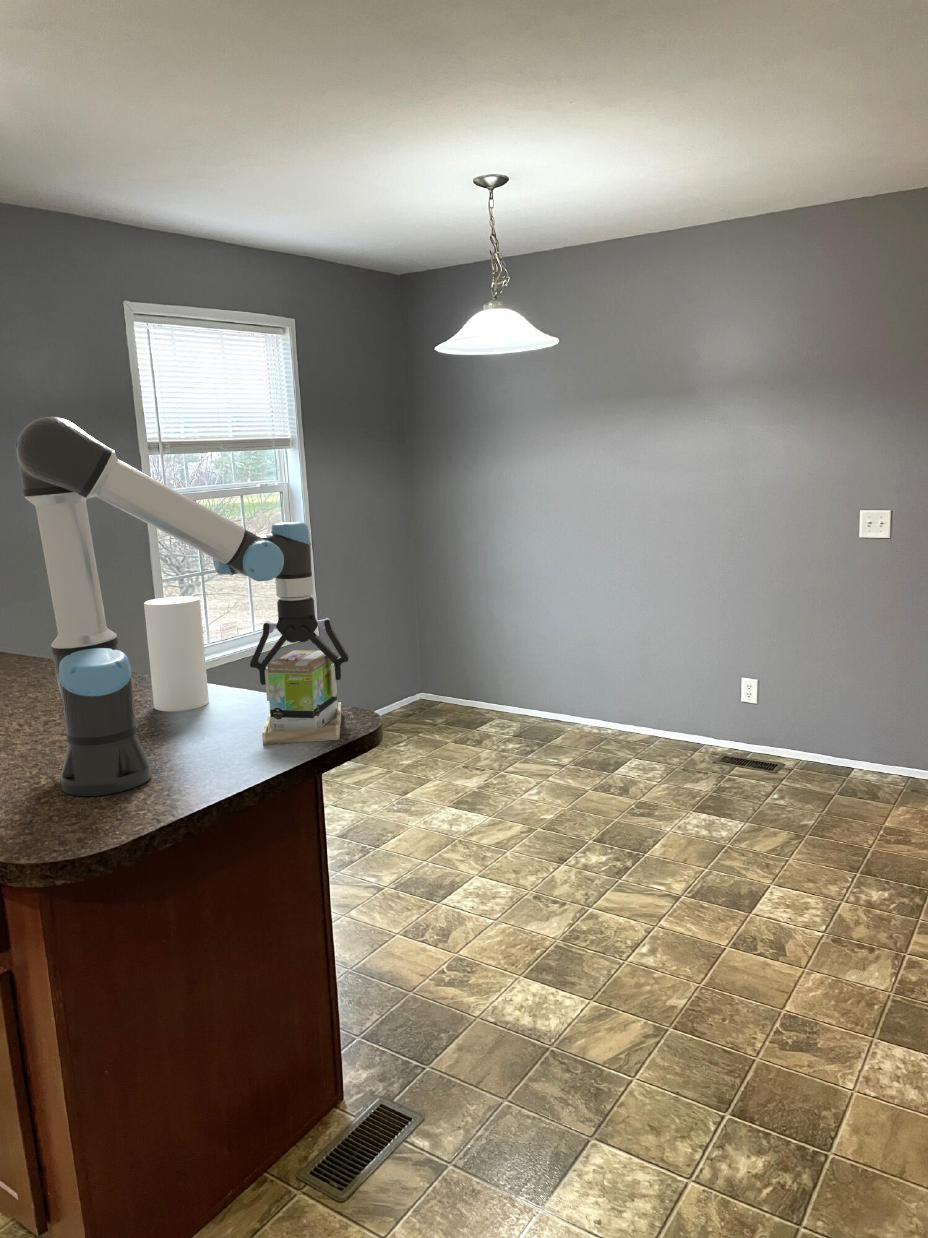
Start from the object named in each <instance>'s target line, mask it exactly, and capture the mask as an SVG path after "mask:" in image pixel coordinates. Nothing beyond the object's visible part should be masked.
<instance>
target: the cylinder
mask: <svg viewBox="0 0 928 1238" xmlns="http://www.w3.org/2000/svg"><path fill="white" fill-rule="evenodd" d="M200 598H201V597H197V596H189V595H188V596H184V595H183V596H168V597H161V598H159V597H158V598H153V599H149V600H146V601H145V602H144V603H143V607H144V609H143V610H144V617H145V619H144V620H145V628H146V637H147V649H148V658H149V669H150V678H151V689H152V700H153V708H154V709H155V710H157V711H160V712H183V711H190V710H194V709H195V710H196V709H199V708H203V707H205V705H208V703H210V699H209V698H210V697H209V688H208V686H209V685H208V678H207V677H208V676H207V666H206V665H207V664H206V663H207V662H206V651H205V643H204V631H203V620H202V619H203V618H202V609H201V606H202V605H201V599H200Z"/></svg>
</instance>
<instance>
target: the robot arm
mask: <svg viewBox="0 0 928 1238" xmlns="http://www.w3.org/2000/svg"><path fill="white" fill-rule="evenodd" d="M14 455H15V459H16V463H17V464H18V467H19V474H20V475H19V476H20V479H21V480H20V481H21V486H22V490H23V495H24V499H25V500H27V501H28V502H30V503H31V504H32V505H33V506H34V507H35V511H36V516H37V523H38V528H39V534H40V538H41V544H42V551H43V556H44V562H45V567H46V573H47V579H48V584H49V590H50V591H49V592H50V596H51V601H52V607H53V613H54V617H55V625H56V628H57V629H56V630H57V636H56V637H55V639H54V640H53V641H52V642H51V645H50V646H51V652H52V657H53V662H54V668H55V683H56V685H57V688H58V690H59V693H60V696H61V697H60V698H61V700H62V708H63V715H64V717H63V718H64V723H65V724H64V725H65V733H66V740H67V741H66V742H67V747H66V752H65V755H64V756H65V757H64V760H63V766H62V770H61V774H60V782H61V783H60V785H61V790H62V791H63V792H64V793H65V794H67V795H71V796H77V797H96V796H105V795H111V794H117V793H121V792H125V791H129V790H131V789H135V788H137V787H139V786H141V785H144V784H145V783H147V782H148V781H149V780H150V779H151V778H152V770H151V769H152V768H151V762H150V761H149V759H148V756H147V754H146V752H145V749H144V748H143V746H142V743H141V742H140V739H139V737H138V732H137V731H138V730H137V723H136V721H137V720H136V714H135V713H136V711H135V703H134V702H135V701H134V693H133V692H134V691H133V683H132V673H133V671H132V667H131V664H130V661H129V660H130V659H129V657H128V656H127V654H126V653H124V652H123V651H121V650H120V647H119V640H118V634H117V633H116V632H114V631H112V630H111V629H109V628H108V627H107V622H106V615H105V613H106V612H105V609H104V603H103V596H102V590H101V584H100V578H99V572H98V568H97V561H96V556H95V549H94V543H93V536H92V530H91V525H90V518H89V513H88V506H87V500H88V499H92V498H97V499H100V500H101V501H104V502H105V503H107V504H109V505H111V506H113V507H114V508H117V509H119V510H121V511H122V512H124V513H126V514H128V515H130V516H132V517H135V518H136V519H138V520H140V521H141V522H143V523H145V524H147V525H148V526H151V527H154V528H155V529H157V530H159V531H161V532H163V533H164V534H166V535H168V536H170V537H172V538H174V539H176V540H178V541H180V542H182V543H184V544H186V545H188V546H189V547H192V548H193V549H196V550H197V551H199V552H201V553H203V554H205V555H206V556H209V557H210V558H212V561H213V566H214V569H215V571H216V573H217V574H218V575H221V576H225V575H226V576H227V575H230V576H233V575H243V576H245V577H248V578H250V579H251V580H254V581H256V582H268V581H271V580H275V590H276V597H277V598H278V599H277V601H276V605H277V617H278V619H277V622H270V621H269V620H266V621H264V623H263V625H262V635H261V637H260V640H259V641H258V644H257V647H256V649H255V651H254V653H253V655H252V659H251V660H250V663H249V667H250V668H253V669H257V670H258V672H259V682H260V684H261V685H262V686H263V685H265V688H266V689H265V691H266V692H265V693H266V701H267V702H269V683H268V664H269V663H271V662H272V659H274V657H275V655H276V654H277V653H278V651H279V650H280V649H281V648H282V647H283V645H285V642H289V643H291V644H292V643H293V644H295V643H297V642H299V643H305V642H307V641H310V642H311V643H312V644H313V645H315V646H316V647H317V648H318V649H319V651H322V652H323V653H324V654H325V655H326V656H327V657H328V658H329V659H330V660H331V661H332V662H333V663H334V664H331V675H332V691H333V697H337V698H338V691H337V688H336V686H337V681H340V680H341V679H342V678H341V677H342V669H341V665H342V664H343V663H348V661H349V658H350V656H349V654H348V652H347V650H346V649H345V647H344V646H343V645H342V644H343V643H341V641H340V639H339V637H338V636H337V634H336V632H335V631H334V629H333V626H332V622H331V618H330V617H325V618H324V619H320V620H318V619H317V618H316V611H315V599H314V598H313V597H312V596H313V595H314V583H313V581H314V580H313V573H312V553H311V551H312V550H311V549H312V548H311V546H312V543H311V539H310V538H311V536H310V531H309V526H308V525H307V523H305V522H302V521H287V522H286V521H285V522H283V521H282V522H276V523H273V524H272V525H271V530H270V533H264V534H255V533H253V532H251V531H249V530H247V529H245V528H244V527H242V526H240V525H238V524H236V523H235V522H233V521H231V520H230V519H228V518H226V517H224V516H222V515H220V514H219V513H217V512H215V511H213V510H211V509H210V508H208V507H207V506H204V505H203V504H200V503H199V502H197V501H195V500H193V499H192V498H189V497H188V496H186V495H184V494H182V493H181V492H178V491H177V490H175V489H173V488H172V487H170V486H168V485H166V484H164V483H163V482H161V481H159V480H157V479H155V478H153V477H151V476H149V475H147V474H146V473H144V472H142V471H141V470H138V469H137V468H135V467H133V466H132V465H130V464H128V463H126V462H124V461H122V460H120V459H119V458H118V457H117V454H116V451H115V450H114V449H113V448H111V447H109V446H107V445H105V444H104V443H103V442H101V441H99V440H97V439H96V438H95V437H93V436H91V435H90V434H89V433H87V432H86V431H85V430H83V429H82V428H80V427H79V426H77V425H76V424H75V423H73V422H71V420H68V419H65V418H61V417H58V416H46V417H41V418H37V419H35V420H32V421H31V422H29V424H27V425H26V426H25V427H24V428H23V429H22V430H21V432H20V433H19V434H18V436H17V438H16V442H15V446H14ZM318 627H320V628H321V630H323V631H326V635H327V636H328V638H329V640H330V641H331V643H332V645H333V647H334V648H335V650H336V651H337V653H338V655H339V656H338V655H337V654H336V652H335V653H334V652H333V651H334V650H332V649H331V648H330V647H329V646H328V645H327V644H326V643H325V642H324V641H323V640H322V639H321V638H320V637H319V636H318V634H317V633H316V632H315V631H316V630H317V628H318ZM275 629H276V630H277V631H278V632H279V633H280V634H281V636H280V637H279V638H278V640H277V641H276V642H275V644H274V645H273V646H272V648H271V649H270V650H269V652H268V653H267V654H266V655H265V657H264V658H263V659H262V661H259V659H260V657H261V655H262V652H263V650H264V648H265V645H266V643H267V641H268V638H269V635H270V634H272V633H273V632H274V630H275Z"/></svg>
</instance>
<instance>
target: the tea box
mask: <svg viewBox="0 0 928 1238" xmlns="http://www.w3.org/2000/svg"><path fill="white" fill-rule="evenodd" d="M332 651H333V652H334V653H335V654H336V652H335V650H332ZM331 664H334V663H333V662H332V661H331V660H330V659H329V658H328V657H327V656H326V655H325V654H324V653H323V652H322V651H321V650H314V649H313V650H307V649H305V650H304V649H302V650H299V649H298V650H296V649H295V650H292V651H290V652H288V653H286V654H284V655H282V656H280V657H279V658H276V659H275V660H273V661H270V662H269V663H268V665H267V668H268V683H269V701H268V703H269V713H270V723H271V731H285V730H300V729H315V728H321V727H323V726H324V725H325V724H326V723H328V722H329V721H330V720H331V719H333V718H334V717H336V716H337V711H338V706H337V702H338V696H337V697H333V691H332V675H331ZM336 688H337V685H336Z"/></svg>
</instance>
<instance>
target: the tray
mask: <svg viewBox="0 0 928 1238" xmlns="http://www.w3.org/2000/svg"><path fill="white" fill-rule="evenodd" d="M337 706H338V711H337V716H336V717H334V718H333V719H331V720H330V721H329V722H328V723H326V724H325V725H324V726H323V727H321V728H315V729H300V730H285V731H271V723H270V712H268V713H269V714H268V715H267V718H266V721H265V724H264V727H263V729H262V732H261V736H262V739H261V740H262V745H264V746H266V745H267V746H268V745H280V744H293V743H308V742H309V743H310V742H312V743H313V742H325V741H339V740H340V738H341V737H340V736H341V728H342V727H341V725H342V716H343V715H342V714H343V712H342V702H341V701H340V702H338V701H337ZM340 727H341V728H340Z"/></svg>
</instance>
